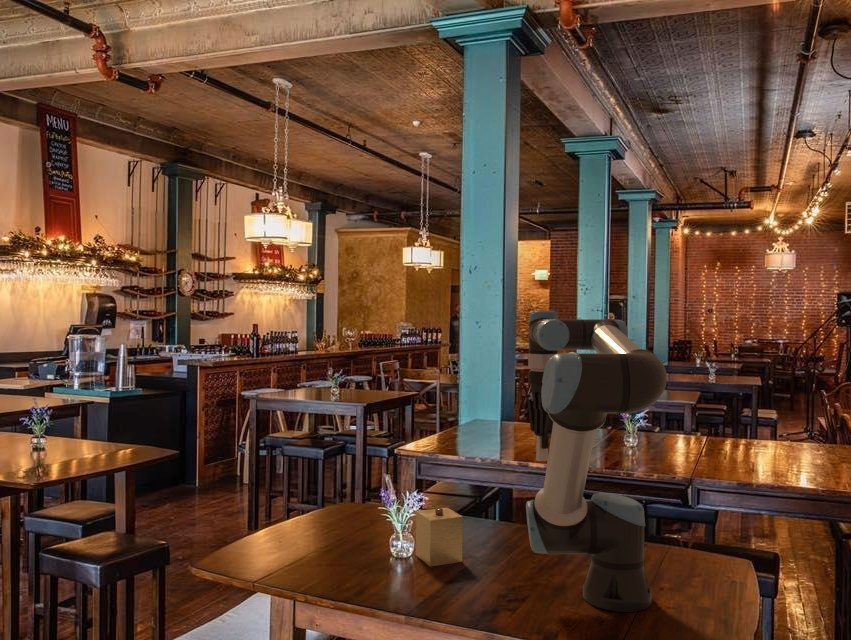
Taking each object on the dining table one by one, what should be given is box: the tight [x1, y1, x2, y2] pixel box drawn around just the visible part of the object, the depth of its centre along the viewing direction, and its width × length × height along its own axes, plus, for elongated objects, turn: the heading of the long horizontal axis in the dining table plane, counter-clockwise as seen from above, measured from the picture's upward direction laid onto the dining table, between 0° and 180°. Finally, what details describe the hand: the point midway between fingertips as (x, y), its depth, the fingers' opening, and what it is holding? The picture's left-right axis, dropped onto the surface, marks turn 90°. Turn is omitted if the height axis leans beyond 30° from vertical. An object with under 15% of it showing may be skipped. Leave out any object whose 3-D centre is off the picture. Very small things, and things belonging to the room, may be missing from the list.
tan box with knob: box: [415, 507, 464, 567], centre depth 194 cm, size 9×9×13 cm
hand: (541, 460), depth 192 cm, fingers closed
